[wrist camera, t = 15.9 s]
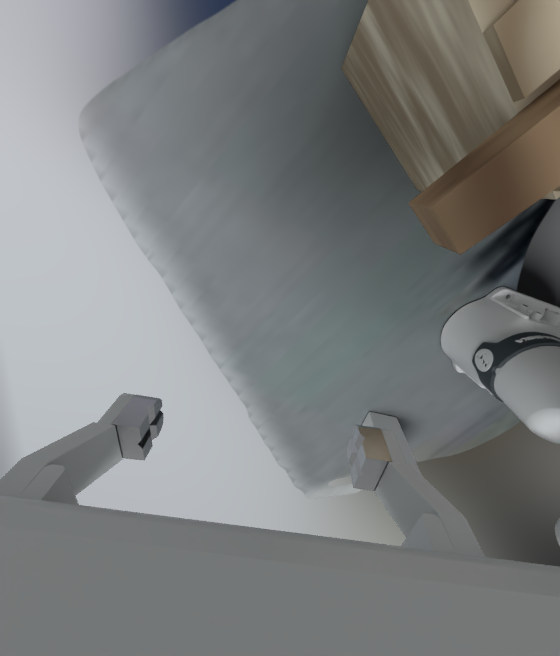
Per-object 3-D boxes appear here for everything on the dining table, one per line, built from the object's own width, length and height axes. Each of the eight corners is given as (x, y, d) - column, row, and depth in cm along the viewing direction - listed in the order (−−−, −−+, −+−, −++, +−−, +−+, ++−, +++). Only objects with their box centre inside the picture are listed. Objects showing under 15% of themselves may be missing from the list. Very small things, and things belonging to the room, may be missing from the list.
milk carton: (368, 410, 65) (393, 489, 48) (396, 417, 66) (431, 497, 49) (357, 431, 68) (377, 511, 52) (384, 436, 69) (413, 518, 52)
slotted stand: (454, -59, 31) (957, -824, 8) (524, 102, 38) (918, -37, 14) (341, 68, 37) (423, -140, 13) (418, 190, 43) (568, 200, 19)
